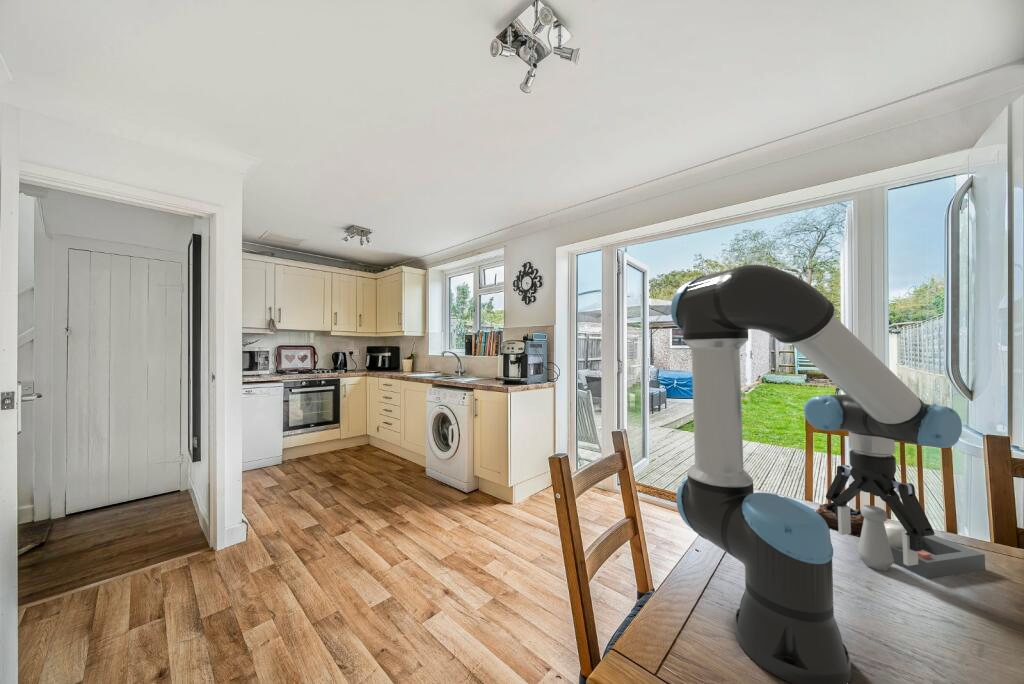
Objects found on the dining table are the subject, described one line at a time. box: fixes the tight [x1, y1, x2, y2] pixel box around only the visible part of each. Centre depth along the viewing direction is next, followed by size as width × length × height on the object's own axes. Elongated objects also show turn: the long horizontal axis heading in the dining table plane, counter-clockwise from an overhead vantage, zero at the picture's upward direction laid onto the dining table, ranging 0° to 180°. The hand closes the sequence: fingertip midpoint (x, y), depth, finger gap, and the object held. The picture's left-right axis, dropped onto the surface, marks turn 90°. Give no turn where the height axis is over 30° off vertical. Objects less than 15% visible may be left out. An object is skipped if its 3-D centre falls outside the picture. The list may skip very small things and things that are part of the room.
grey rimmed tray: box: [884, 522, 986, 580], centre depth 85 cm, size 16×11×8 cm
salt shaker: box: [857, 504, 895, 572], centre depth 83 cm, size 6×6×13 cm
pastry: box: [815, 502, 864, 538], centre depth 102 cm, size 11×12×6 cm
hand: (875, 547), depth 83 cm, fingers open, 12 cm apart
